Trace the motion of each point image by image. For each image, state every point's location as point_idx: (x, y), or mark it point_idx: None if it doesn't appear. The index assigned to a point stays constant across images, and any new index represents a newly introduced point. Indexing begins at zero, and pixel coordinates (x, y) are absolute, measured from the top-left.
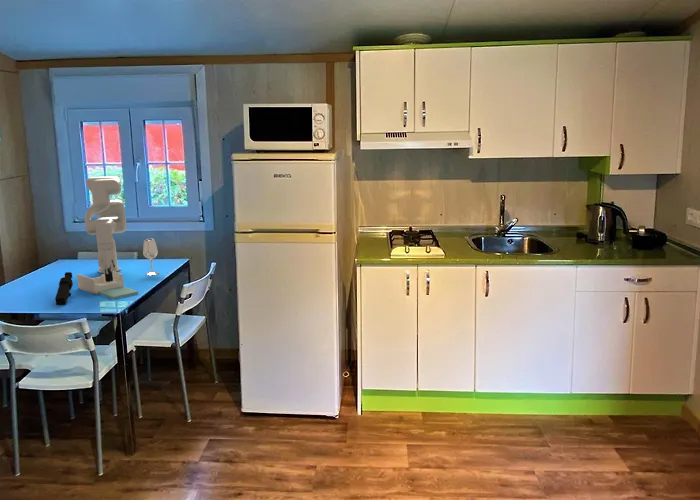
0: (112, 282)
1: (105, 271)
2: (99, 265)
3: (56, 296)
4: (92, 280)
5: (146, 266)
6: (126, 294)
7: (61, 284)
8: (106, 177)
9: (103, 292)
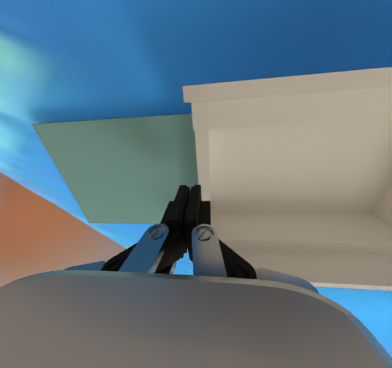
0: (271, 222)
1: (192, 247)
2: (299, 337)
3: None
4: (229, 84)
5: (379, 334)
6: (69, 184)
7: None
8: None
9: (151, 125)
